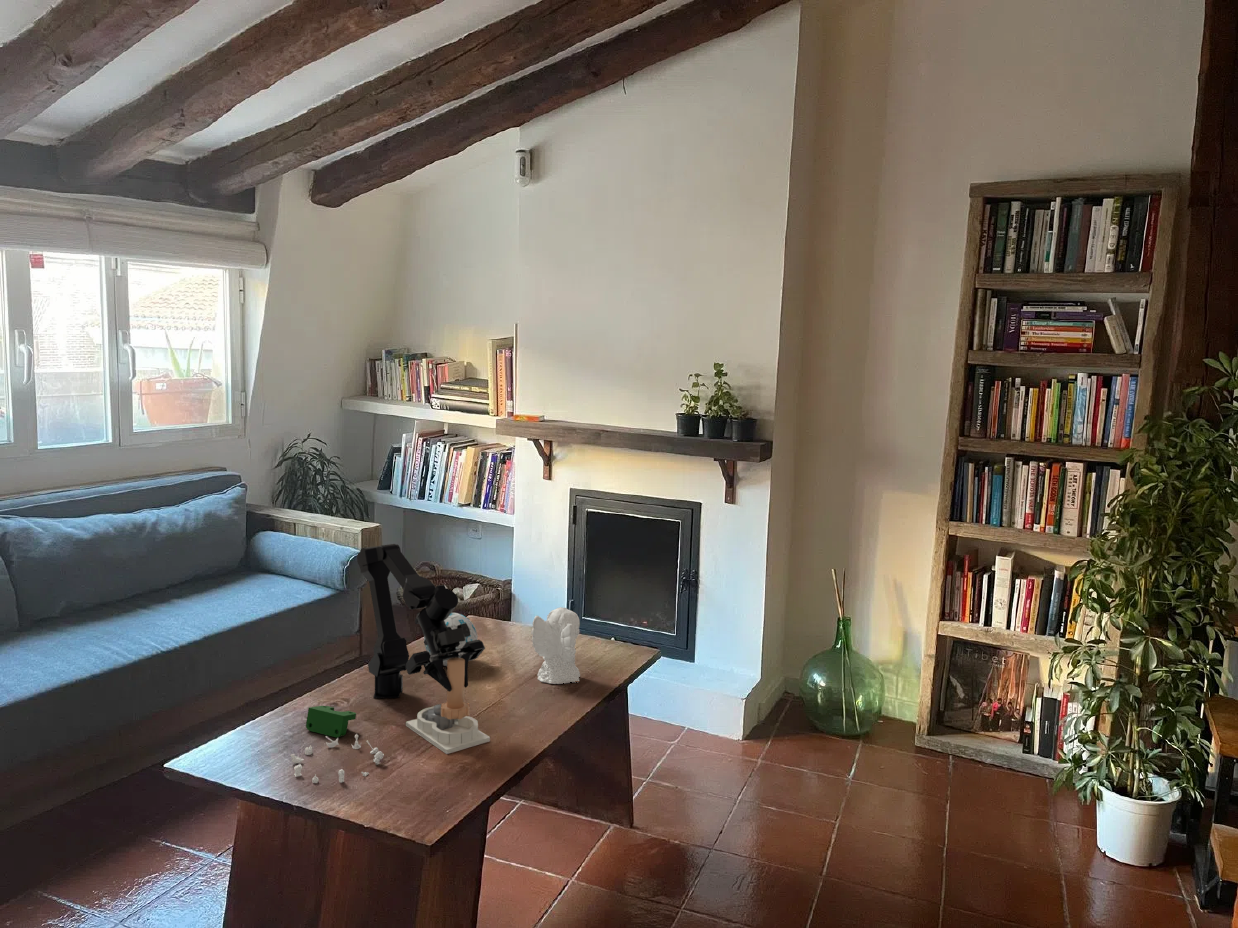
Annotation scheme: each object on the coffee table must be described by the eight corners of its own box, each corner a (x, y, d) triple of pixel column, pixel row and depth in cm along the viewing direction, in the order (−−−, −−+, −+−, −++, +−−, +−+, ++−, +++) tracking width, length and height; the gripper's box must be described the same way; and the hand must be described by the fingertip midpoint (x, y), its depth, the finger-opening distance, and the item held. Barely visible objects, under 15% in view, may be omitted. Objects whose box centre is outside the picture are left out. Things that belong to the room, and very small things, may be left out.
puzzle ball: (451, 651, 281) (451, 603, 279) (488, 663, 272) (488, 613, 270) (412, 665, 268) (412, 614, 266) (449, 677, 260) (450, 625, 258)
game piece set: (397, 751, 214) (397, 735, 214) (354, 792, 195) (354, 774, 195) (320, 740, 219) (320, 725, 218) (270, 779, 199) (270, 762, 199)
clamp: (346, 747, 224) (363, 717, 224) (331, 750, 219) (348, 719, 218) (316, 720, 229) (331, 690, 228) (300, 723, 223) (316, 692, 223)
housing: (405, 725, 228) (405, 703, 227) (447, 714, 235) (448, 693, 234) (446, 754, 213) (446, 730, 212) (489, 741, 221) (490, 718, 220)
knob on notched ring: (435, 717, 218) (436, 663, 216) (447, 706, 225) (448, 654, 223) (462, 721, 217) (463, 667, 215) (474, 709, 223) (475, 657, 221)
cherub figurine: (591, 676, 264) (594, 607, 262) (572, 691, 253) (574, 619, 250) (549, 668, 269) (551, 600, 267) (529, 683, 258) (530, 612, 255)
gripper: (412, 620, 214) (435, 681, 208) (481, 607, 227) (506, 664, 220) (395, 643, 221) (418, 703, 215) (463, 629, 234) (487, 686, 227)
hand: (458, 688), depth 219 cm, fingers closed on knob on notched ring, 4 cm apart
